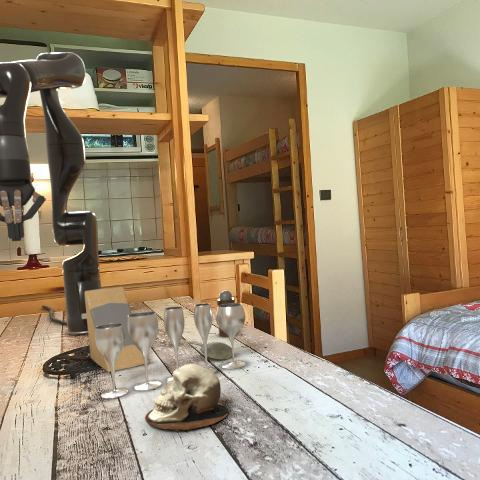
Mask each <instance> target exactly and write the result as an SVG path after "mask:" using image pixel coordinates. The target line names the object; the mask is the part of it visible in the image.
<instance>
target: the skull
mask: <svg viewBox="0 0 480 480" xmlns="http://www.w3.org/2000/svg"><path fill="white" fill-rule="evenodd" d="M172 376H173V379H171V380H169V381H168V380H167V381H166V382H165V383H164V384H163V388H162V389H161V390H160V394H159V395H157V396H156V398H154V401H153V409H151V410H150V411H148V412H147V413H146V414H145V416H144V420H145V423H146V424H147V425H149V426H151V427H154V428H158V429H163V430H173V431H176V432H178V431H179V430H182V431H186V430H187V431H189V430H192V429H194V430H195V429H197V428H204V427H207V426H208V427H209V426H210V425H211V426H213V425H215V424H216V423H218V422H221V421H222V420H224V419H225V418H227V416H228V414H229V409H228V407H227V406H226V405H225V404H223V403H221V402H220V398H221V394H222V392H221V391H222V387H221V381H220V379H219V377H218V375H217V374H216V373H213V372H211V371H210V370H208V369H207V368H206V367H204V366H202V365H199V364H196V363H188V364H184V365H182V366H179V368H178V369H177V368H176V369H175V370H173V372H172Z"/></svg>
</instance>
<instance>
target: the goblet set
mask: <svg viewBox="0 0 480 480" xmlns="http://www.w3.org/2000/svg"><path fill="white" fill-rule="evenodd" d="M193 307H194V308H193V321H194V325H195V328H196V330H197V332H198V334H199V336H200V338H201V341H202V344H203V345H204V352H205V354H204V361H205V362H204V363H205V368H207V369H208V370H210V371H211V372H213V373H214V374H216V373H217V372H218V369H217V368H215V367H209V365H208V356H207V344H208V338H209V335H210V332H211V329H212V326H213V319H214V318H213V317H214V316H213V309H212V306H211V303H210V302H204V303H203V302H202V303H197V304H194V306H193ZM216 308H217V307H216ZM215 322H216V325H217V326H218V329H219V328H220V329H221V330H223V331H224V332H225V333H226V334H227V335H228V338H229V341H230V347H231V348H232V357H231V359H232V361H229V362H225V363H223V364H221V367H222V368H223V369H225V370H226V369H227V370H232V369H241V368H243V367H245V366H246V365H247V364H246V362H245V361H242V360H241V361H240V360H235V339H236V336H237V335H238V333H239V331H240V330H241V329H242V327H244V325H245V322H246V312H245V309H244V306H243V304H242V303H239V302H235V303H228V304H222V305H219V306H218V308H217V309H216V312H215ZM163 326H164V330H165V333H166V335H167V338H168V339H169V342H170V341H171V342H172V344H171V345H172V348H173V350H174V355H175V363H176V364H175V365H176V370H177V369H178V368H180V366H179V347H180V343H181V342H180V340H182V337H183V334H184V330H185V313H184V309H183V307H182V306H179V305H178V306H169V307H165V308H164V309H163ZM127 327H128V333H129V336H130V339H131V341H132V342H133V344H134V345H135V346H136V347H137V348H138V349H139V351H140V352H141V353H142V355H143V359H144V364H143V365H144V371H145V372H144V373H145V374H144V375H145V381H144V382H140V383H137V384H136V385H134V386H133V389H134V390H135V391H142V392H143V391H151V390H154V389H157V388H160V387H161V386H162V382H161V381H158V380H150V381H149V369H148V367H149V365H148V364H149V363H147V360H148V361H149V353H150V351H151V349H152V347H153V345H154V344H155V342H156V340H157V337H158V333H159V319H158V315H157V312H156V311H140V312H139V311H138V312H134V313H132V314H130V315H128V322H127ZM95 341H96V345H97V348H98V350H99V352H100V353H101V354H102V356H103V357H104V358H105V359H106V360H107V362H108V363H109V366H110V369H111V372H110V374H111V383H112V389H111V390H107V391H104V392H103V393H102V394H101V395H100V398H102V399H104V400H105V399H106V400H108V399H116V398H117V399H118V398H121V397H124V396H125V395H127V394H129V390H128V389H126V388H117V389H116V375H115V374H116V373H115V372H116V371H115V364H116V360H117V358H118V356H119V354H120V353H121V351H122V349H123V346H124V342H125V333H124V328H123V325H122V324H120V323H113V324H105V325H101V326H98V327H96V330H95ZM171 379H173V375H172V376H170V377H168V378H167V381H169V380H171Z"/></svg>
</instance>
